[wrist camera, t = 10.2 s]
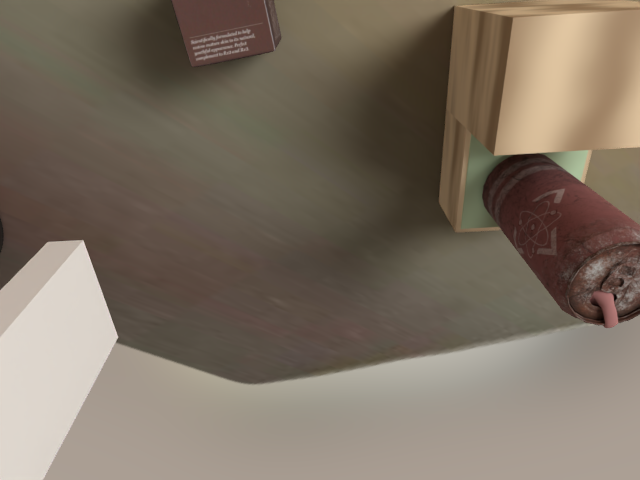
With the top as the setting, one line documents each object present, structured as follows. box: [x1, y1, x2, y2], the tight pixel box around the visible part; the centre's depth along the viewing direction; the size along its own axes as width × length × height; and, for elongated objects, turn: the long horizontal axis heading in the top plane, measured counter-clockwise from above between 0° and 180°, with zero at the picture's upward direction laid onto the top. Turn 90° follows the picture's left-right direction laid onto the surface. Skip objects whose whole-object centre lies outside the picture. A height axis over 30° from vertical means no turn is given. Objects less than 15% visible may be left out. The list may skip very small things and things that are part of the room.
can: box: [482, 153, 640, 328], centre depth 31 cm, size 6×6×14 cm
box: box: [171, 0, 281, 67], centre depth 32 cm, size 6×6×7 cm
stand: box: [439, 0, 640, 232], centre depth 35 cm, size 10×17×12 cm, turn 3°
